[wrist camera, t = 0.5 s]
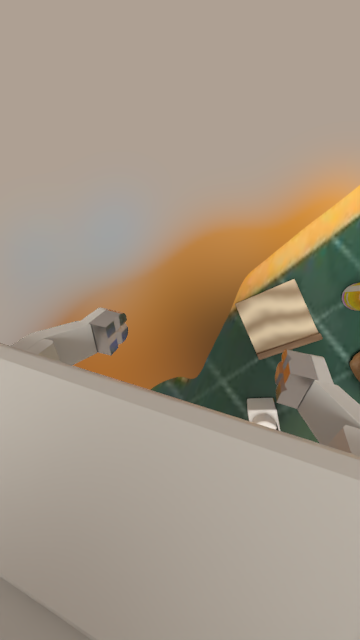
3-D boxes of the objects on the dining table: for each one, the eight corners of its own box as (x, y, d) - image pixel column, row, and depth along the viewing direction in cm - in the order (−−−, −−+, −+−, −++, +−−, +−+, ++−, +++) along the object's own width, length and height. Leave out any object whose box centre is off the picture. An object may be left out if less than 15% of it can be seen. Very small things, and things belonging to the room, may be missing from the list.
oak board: (319, 337, 54) (322, 339, 52) (258, 357, 59) (259, 359, 57) (293, 279, 55) (295, 278, 52) (235, 303, 59) (234, 304, 57)
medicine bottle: (276, 421, 59) (285, 450, 48) (250, 421, 61) (252, 449, 50) (273, 397, 59) (280, 420, 47) (246, 398, 61) (247, 420, 50)
